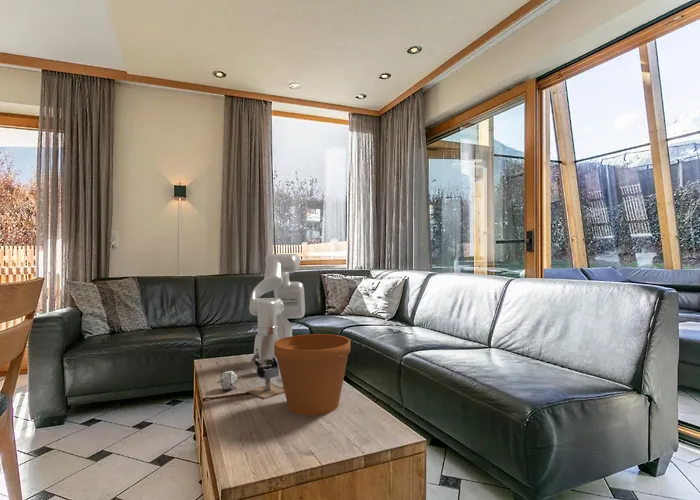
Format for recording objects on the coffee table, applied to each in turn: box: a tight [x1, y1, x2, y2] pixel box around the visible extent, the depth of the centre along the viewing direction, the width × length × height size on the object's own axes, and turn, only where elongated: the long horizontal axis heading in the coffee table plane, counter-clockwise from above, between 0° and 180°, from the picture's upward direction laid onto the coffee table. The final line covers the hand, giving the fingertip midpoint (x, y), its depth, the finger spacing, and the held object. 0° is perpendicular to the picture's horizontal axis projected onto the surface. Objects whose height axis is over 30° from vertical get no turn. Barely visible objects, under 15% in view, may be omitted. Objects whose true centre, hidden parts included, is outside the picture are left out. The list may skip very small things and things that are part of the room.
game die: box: [216, 368, 241, 392], centre depth 164 cm, size 9×8×10 cm
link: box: [256, 364, 280, 380], centre depth 160 cm, size 6×6×4 cm
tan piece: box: [246, 378, 285, 400], centre depth 160 cm, size 12×12×6 cm
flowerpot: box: [274, 333, 352, 417], centre depth 145 cm, size 28×28×24 cm
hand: (267, 374), depth 160 cm, fingers closed on link, 6 cm apart
